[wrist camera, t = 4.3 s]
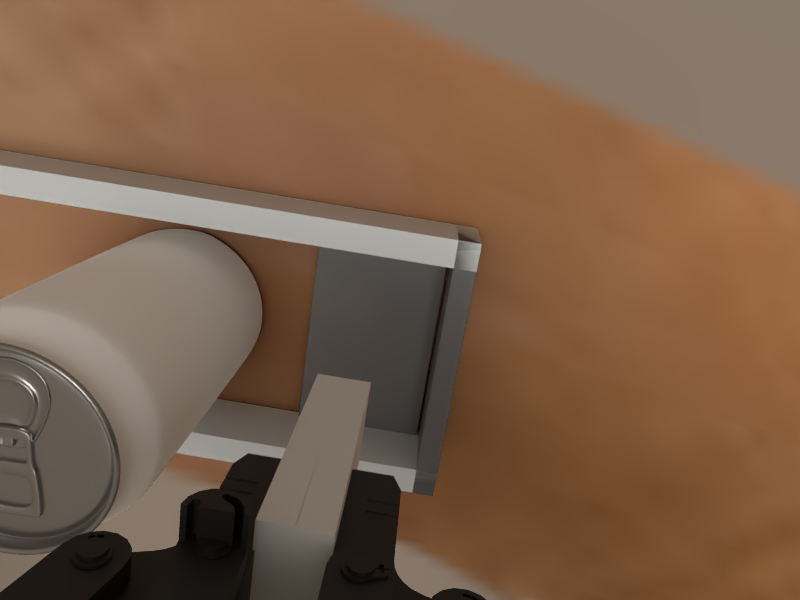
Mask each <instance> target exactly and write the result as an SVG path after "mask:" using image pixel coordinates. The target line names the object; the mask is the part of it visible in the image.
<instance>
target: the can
mask: <svg viewBox="0 0 800 600" xmlns="http://www.w3.org/2000/svg"><path fill="white" fill-rule="evenodd" d="M261 324H262V301H261V296H260V292H259V289H258V286H257V283H256V281H255V279H254V277H253V275H252V273H251V272H250V270H249V268H248V267H247V266H246V264H245V263H244V262H243V260H242V259H241V258H240V257H239V256H238V255H237V254H236V253H235V252H234V251H233V250H232V249H230V248H229V247H228V246H227V245H225V244H224V243H222V242H221V241H219V240H218V239H216V238H214V237H212V236H210V235H208V234H206V233H203V232H199V231H195V230H189V229H164V230H158V231H153V232H150V233H147V234H144V235H142V236H139V237H137V238H134V239H132V240H130V241H127V242H125V243H123V244H121V245H118V246H116V247H114V248H112V249H109V250H107V251H105V252H103V253H100V254H98V255H96V256H94V257H91V258H89V259H87V260H85V261H83V262H80V263H78V264H76V265H74V266H72V267H69V268H67V269H65V270H63V271H61V272H58V273H56V274H54V275H52V276H50V277H47V278H45V279H43V280H41V281H39V282H36V283H34V284H32V285H30V286H28V287H26V288H23V289H21V290H19V291H17V292H15V293H12V294H10V295H8V296H6V297H4V298H2V299H0V552H3V553H10V554H21V555H23V554H24V555H29V554H30V555H32V554H43V553H49V552H52V551H54V550H55V549H56V548H57V547H59V546H60V545H61V544H62V543H64V542H66V541H68V540H69V539H71V538H73V537H74V536H77V535H81V534H84V533H88V532H93V531H94V530H95V529H96V528H97V526H99V525H100V524H102V523H105V522H107V521H109V520H111V519H113V518H115V517H116V516H118V515H120V514H121V513H123V512H124V511H126V510H127V509H128V508H129V507H131V506H132V505H133V504H134V503H135V502H136V501H137V500H138V499H139V498H140V497H141V496H142V495H143V494H144V493H145V492H146V491H147V489H148V488H149V487H150V486H151V484H152V483H153V482H154V481H155V480H156V478H157V477H158V476H159V474H160V473H161V472H162V471H163V469H164V468H165V467H166V465H167V464H168V463H169V461H170V460H171V459H172V458H173V456H174V455H175V454H176V452H177V451H178V450H179V448H180V447H181V446H182V444H183V443H184V442H185V440H186V439H187V438H188V436H189V435H190V434H191V432H192V431H193V430H194V428H195V427H196V426H197V424H198V423H199V422H200V420H201V419H202V418H203V416H204V415H205V414H206V412H207V411H208V410H209V408H210V407H211V406H212V404H213V403H214V402H215V400H216V399H217V398H218V396H219V395H220V394H221V392H222V391H223V390H224V388H225V387H226V385H227V384H228V383H229V381H230V380H231V379H232V377H233V376H234V375H235V373H236V372H237V371H238V369H239V368H240V366H241V365H242V364H243V362H244V361H245V360H246V358H247V357H248V355H249V354H250V352H251V351H252V349H253V347H254V345H255V343H256V341H257V339H258V336H259V333H260V329H261Z"/></svg>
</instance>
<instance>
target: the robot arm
mask: <svg viewBox="0 0 800 600" xmlns="http://www.w3.org/2000/svg"><path fill="white" fill-rule="evenodd" d="M370 385H371V382H365V381H359V380H353V379H347V378H341V377H335V376H329V375H323V374H318V375H317V377H316V379H315V382H314V384H313V386H312V389H311V391H310V393H309V396H308V398H307V400H306V403H305V405H304V407H303V410H302V412H301V414H300V417H299V419H298V421H297V424H296V426H295V428H294V431H293V433H292V435H291V438H290V440H289V442H288V445H287V447H286V449H285V452H284V454H283V456H282V459H280V458H274V457H268V456H262V455H256V454H250V453H248V454H246V455H245V456H243V457H242V458H240V459H239V460H237V461H236V462H234V463H233V465H232V466H231V468H230V470H229V472H228V474H227V475H226V478H225V479H224V481H223V483H222V484H221V486H220V489H209V490H204V491H199V492H197V493H195V494H193V495H190V496H188V497H187V498H186V499H185V500H184V501H183V502H182V503H181V510H180V528H179V541H178V543H177V545H176V546H174V547H171V548H167V549H163V550H156V551H144V552H132V547H131V545H130V543H129V542H128V540H127V539H126V538H124V537H122V536H121V535H119V534H117V533H112V532H107V531H96V532H88V533H84V534H81V535H77V536H74V537H73V538H71V539H69V540H68V541H66V542H64V543H62V544H61V545H60V546H59V547H57V548H56V549H55V550H54V551H52V552H51V553H50V554H48V555H47V556H46V557H45V558H43V559H42V560H41V561H40V562H38V563H37V564H36V565H35V566H33V567H32V568H31V569H29V570H28V571H27V572H26V573H24V574H23V575H22V576H21V577H19V578H18V579H17V580H16V581H14V582H13V583H12V584H11V585H9V586H8V587H7V588H5V589H4V590H3V591H2V592H0V600H486V599H484V598H483V597H482V596H481V595H478V594H476V593H474V592H471V591H469V590H464V589H456V588H452V589H447V590H442V591H440V592H439V593H437V594H436V595H434V596H433V597H432V599H431V598H429V597H426V596H424V595H422V594H420V593H418V592H416V591H414V590H412V589H411V588H409V587H408V586H407V585H406V584H405V583H403V581H402V580H401V579H400V578H399V576H398V575H397V573H396V570H395V566H394V556H395V545H396V535H397V525H398V515H399V504H400V494H401V489H400V487H399V485H398V483H397V481H396V480H395V478H394V476H391V475H385V474H379V473H373V472H367V471H361V470H357V469H358V464H359V457H360V450H361V444H362V437H363V431H364V424H365V418H366V411H367V405H368V398H369V392H370Z"/></svg>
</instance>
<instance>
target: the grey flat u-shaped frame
mask: <svg viewBox="0 0 800 600" xmlns="http://www.w3.org/2000/svg"><path fill="white" fill-rule="evenodd" d="M0 194H3V195H9V196H15V197H22V198H28V199H34V200H40V201H46V202H52V203H58V204H64V205H70V206H76V207H82V208H88V209H95V210H101V211H107V212H113V213H119V214H125V215H131V216H137V217H143V218H149V219H155V220H161V221H168V222H174V223H180V224H186V225H192V226H198V227H204V228H210V229H216V230H222V231H228V232H234V233H241V234H247V235H253V236H259V237H265V238H271V239H277V240H283V241H289V242H295V243H301V244H307V245H314V246H319V251H318V260H317V268H316V276H315V284H314V293H313V301H312V309H311V318H310V326H309V334H308V342H307V351H306V359H305V367H304V376H303V384H302V392H301V400H300V409H299V412H295V411H289V410H283V409H277V408H271V407H265V406H259V405H253V404H247V403H241V402H235V401H229V400H223V399H216V400H215V402H214V403H213V404H212V406H211V407H210V408H209V410H208V411H207V412H206V414H205V415H204V416H203V418H202V419H201V420H200V422H199V423H198V424H197V426H196V427H195V428H194V430H193V431H192V432H191V434H190V435H189V436H188V438H187V439H186V440H185V442H184V443H183V444H182V446H181V447H180V448H179V450H178V451H177V452H176V453H179V454H185V455H191V456H197V457H203V458H209V459H215V460H221V461H227V462H233V463H234V462H236V461H237V460H239V459H240V458H242V457H243V456H245V455H246V454H248V453H250V454H256V455H262V456H268V457H274V458H280V459H282V456H283V454H284V452H285V449H286V447H287V445H288V442H289V440H290V438H291V435H292V433H293V431H294V428H295V426H296V424H297V421H298V419H299V417H300V414H301V412H302V410H303V407H304V405H305V403H306V400H307V398H308V396H309V393H310V391H311V389H312V386H313V384H314V382H315V379H316V377H317V375H318V374H323V375H329V376H335V377H341V378H347V379H353V380H359V381H365V382H371V385H370V392H369V398H368V405H367V411H366V418H365V424H364V431H363V437H362V444H361V450H360V457H359V464H358V469H357V470H361V471H367V472H373V473H379V474H385V475H391V476H394V478H395V480H396V481H397V483H398V485H399V487H400V489H401V491H405V492H411V493H417V494H423V495H429V496H433V492H434V487H435V482H436V477H437V472H438V467H439V461H440V456H441V451H442V446H443V441H444V436H445V431H446V426H447V421H448V415H449V410H450V405H451V400H452V395H453V390H454V385H455V380H456V374H457V369H458V364H459V359H460V354H461V349H462V344H463V339H464V333H465V328H466V323H467V318H468V313H469V308H470V303H471V298H472V292H473V287H474V282H475V277H476V272H477V267H478V262H479V257H480V251H481V246H482V243H481V239H480V236H479V232H478V229H477V228H475V227H469V226H462V225H456V224H450V223H444V222H438V221H432V220H426V219H420V218H414V217H407V216H401V215H395V214H389V213H383V212H377V211H371V210H365V209H359V208H352V207H346V206H340V205H334V204H328V203H322V202H316V201H310V200H304V199H298V198H291V197H285V196H279V195H273V194H267V193H261V192H255V191H249V190H243V189H236V188H230V187H224V186H218V185H212V184H206V183H200V182H194V181H188V180H181V179H175V178H169V177H163V176H157V175H151V174H145V173H139V172H133V171H126V170H120V169H114V168H108V167H102V166H96V165H90V164H84V163H78V162H71V161H65V160H59V159H53V158H47V157H41V156H35V155H29V154H23V153H17V152H10V151H4V150H0ZM446 268H449V269H448V274H447V280H446V285H445V291H444V296H443V302H442V307H441V313H440V318H439V324H438V329H437V335H436V340H435V346H434V351H433V357H432V362H431V368H430V373H429V379H428V384H427V390H426V395H425V401H424V406H423V412H422V417H421V423H420V428H419V432H417V428H418V423H419V417H420V411H421V406H422V400H423V395H424V389H425V384H426V378H427V373H428V367H429V362H430V356H431V351H432V345H433V340H434V334H435V329H436V323H437V317H438V312H439V306H440V301H441V295H442V290H443V284H444V279H445V273H446Z"/></svg>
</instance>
